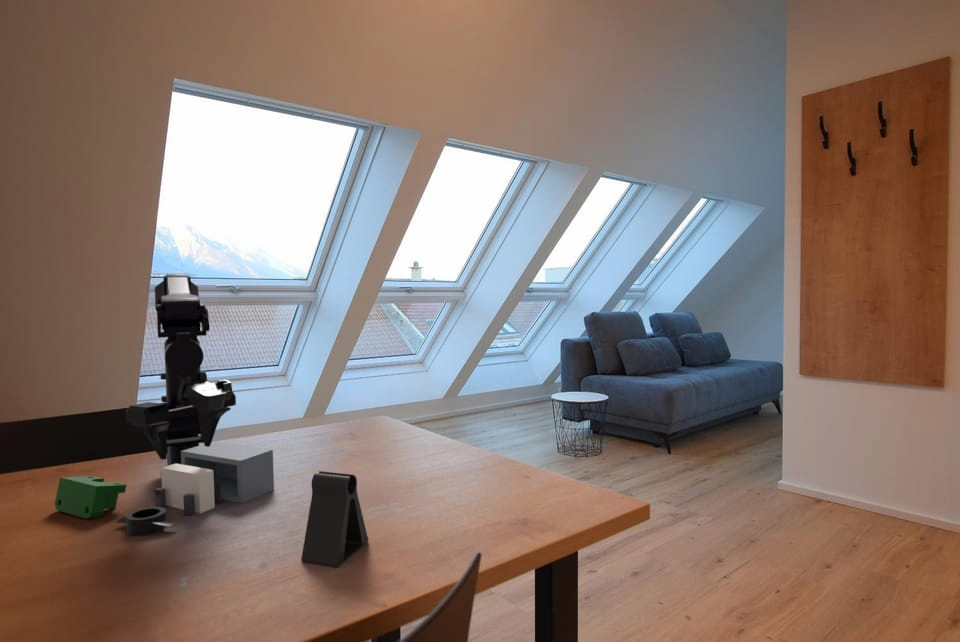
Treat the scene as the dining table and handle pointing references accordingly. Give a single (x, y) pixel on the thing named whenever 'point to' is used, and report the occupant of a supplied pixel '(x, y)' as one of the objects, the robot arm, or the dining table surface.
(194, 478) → the white block
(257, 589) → the dining table surface
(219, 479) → the cabinet
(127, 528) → the dark grey tabbed ring
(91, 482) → the clamp
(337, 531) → the phone stand
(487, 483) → the dining table surface
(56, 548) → the dining table surface
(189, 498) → the clip brackets
